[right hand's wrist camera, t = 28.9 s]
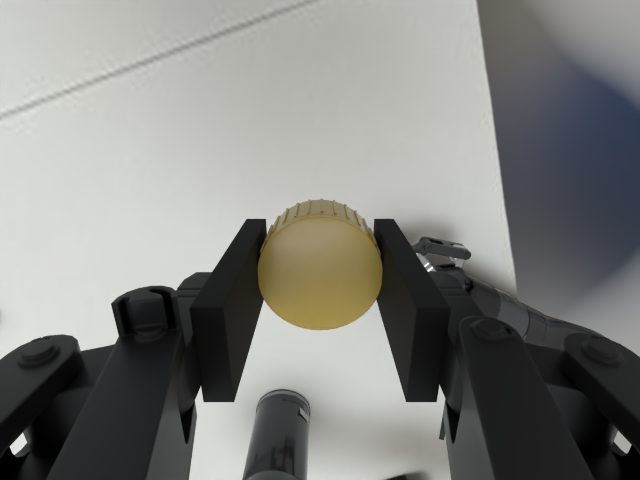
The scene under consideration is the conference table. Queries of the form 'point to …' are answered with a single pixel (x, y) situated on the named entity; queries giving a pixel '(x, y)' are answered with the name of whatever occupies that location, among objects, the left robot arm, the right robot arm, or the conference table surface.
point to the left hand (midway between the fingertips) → (373, 259)
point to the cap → (320, 265)
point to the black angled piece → (400, 478)
